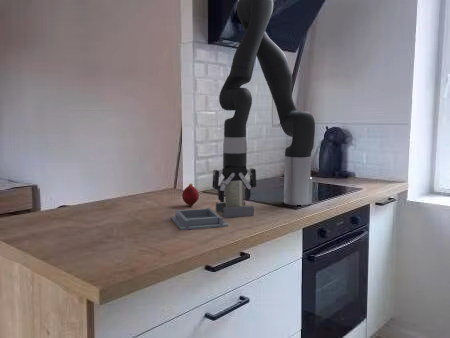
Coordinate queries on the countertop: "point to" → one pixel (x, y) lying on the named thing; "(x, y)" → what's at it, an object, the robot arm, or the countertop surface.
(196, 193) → the onion
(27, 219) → the countertop surface
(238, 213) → the slot
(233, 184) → the box
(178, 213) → the grey square tray
